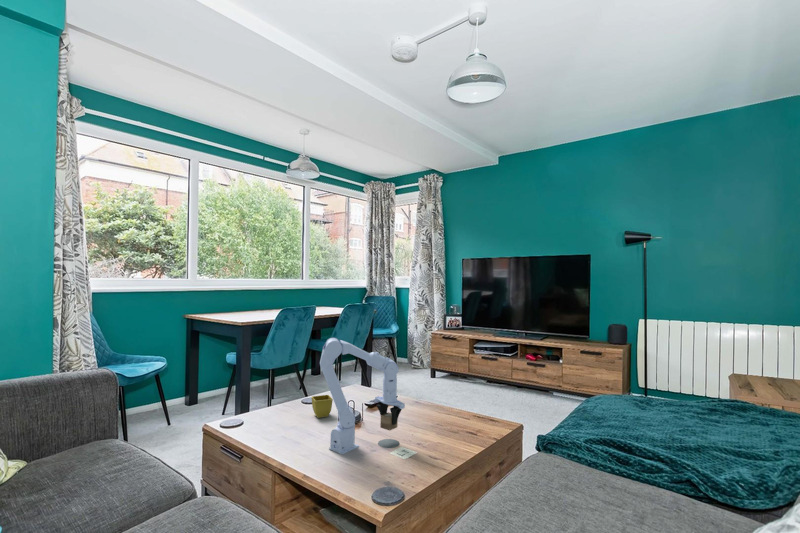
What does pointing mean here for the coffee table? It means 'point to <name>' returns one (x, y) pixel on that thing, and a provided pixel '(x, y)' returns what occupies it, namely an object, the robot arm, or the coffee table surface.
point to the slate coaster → (388, 443)
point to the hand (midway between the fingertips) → (389, 422)
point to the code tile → (403, 452)
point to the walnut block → (387, 422)
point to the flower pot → (322, 405)
